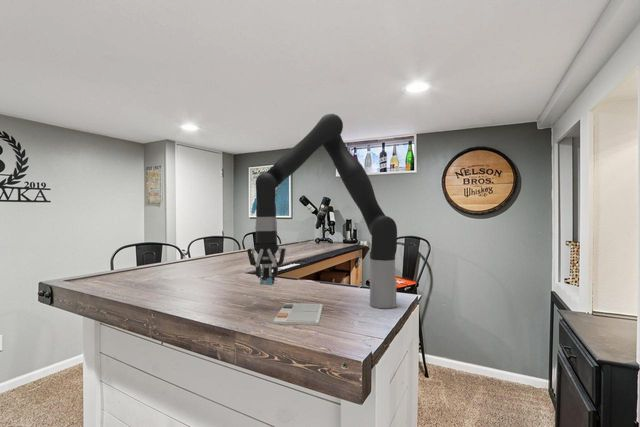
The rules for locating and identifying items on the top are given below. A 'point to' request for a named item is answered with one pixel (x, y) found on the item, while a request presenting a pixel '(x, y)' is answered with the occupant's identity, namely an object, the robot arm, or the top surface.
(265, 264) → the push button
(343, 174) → the robot arm
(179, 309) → the top surface
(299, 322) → the board
